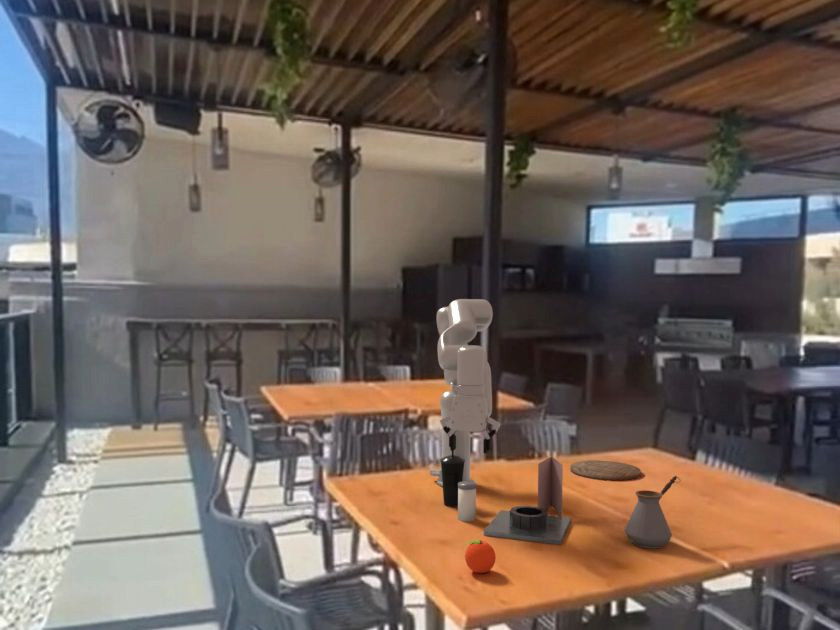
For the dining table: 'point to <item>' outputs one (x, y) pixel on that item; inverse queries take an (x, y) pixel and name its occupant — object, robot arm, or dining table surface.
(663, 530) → the coffee pot
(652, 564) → the dining table surface
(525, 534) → the square plate with ring
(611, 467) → the trivet
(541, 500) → the greeting card
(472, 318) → the robot arm
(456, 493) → the drinking cup
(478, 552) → the clementine
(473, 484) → the round-ended cylinder
